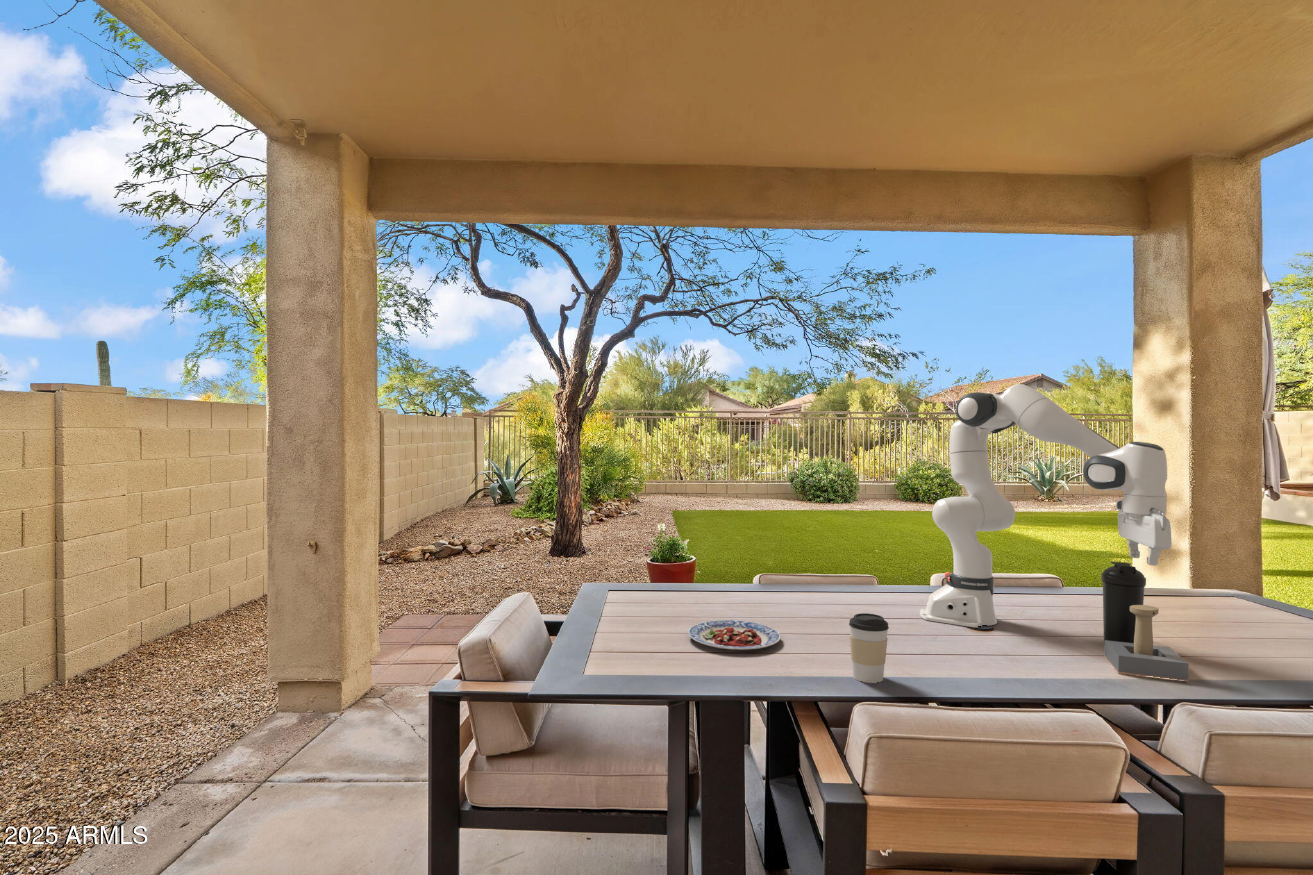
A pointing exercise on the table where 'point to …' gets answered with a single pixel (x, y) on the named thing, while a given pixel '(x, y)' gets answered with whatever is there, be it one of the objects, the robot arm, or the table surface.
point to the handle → (1143, 628)
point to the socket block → (1146, 661)
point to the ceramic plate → (734, 634)
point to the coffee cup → (868, 647)
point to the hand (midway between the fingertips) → (1143, 561)
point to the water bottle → (1121, 601)
